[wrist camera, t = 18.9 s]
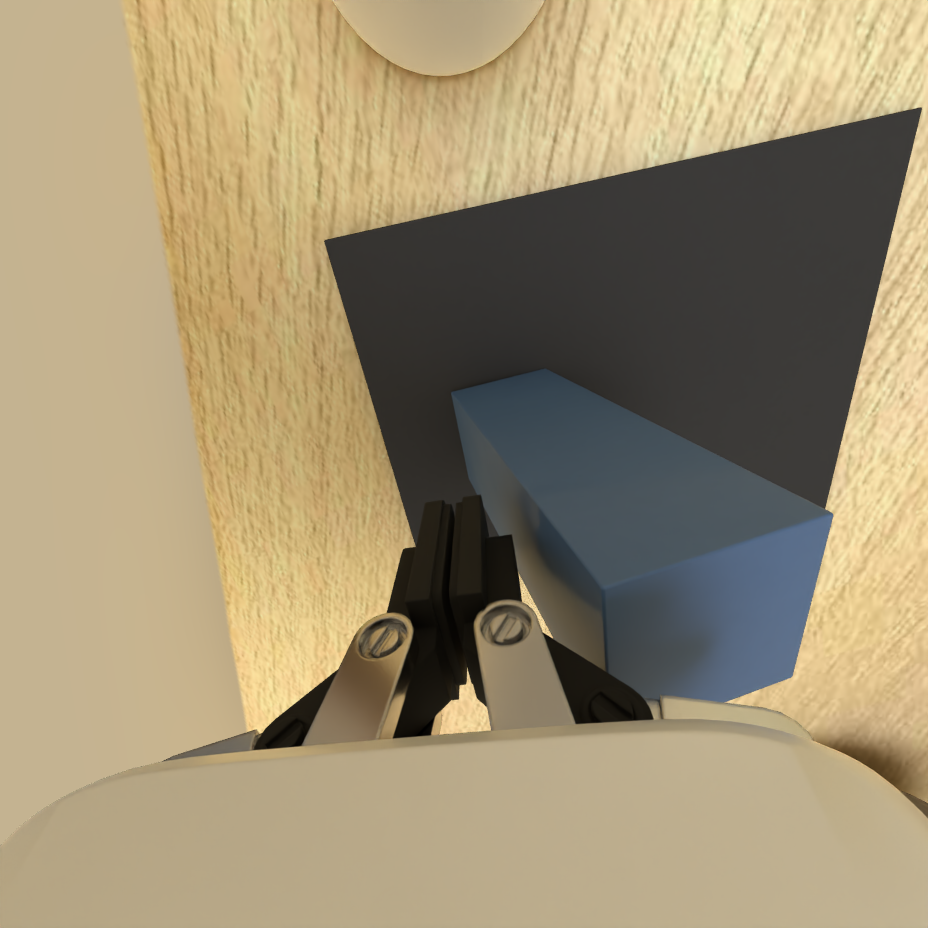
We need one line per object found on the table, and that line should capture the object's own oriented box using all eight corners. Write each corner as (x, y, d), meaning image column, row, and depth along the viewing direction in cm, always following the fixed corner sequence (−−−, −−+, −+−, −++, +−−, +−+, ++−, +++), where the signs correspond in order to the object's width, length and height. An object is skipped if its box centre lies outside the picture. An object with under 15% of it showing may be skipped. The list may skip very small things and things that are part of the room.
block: (468, 479, 20) (610, 746, 9) (450, 392, 18) (602, 588, 7) (554, 455, 21) (793, 678, 9) (545, 367, 19) (836, 513, 7)
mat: (425, 572, 25) (424, 577, 25) (326, 240, 17) (323, 240, 17) (815, 522, 23) (821, 526, 22) (912, 110, 15) (923, 106, 14)
